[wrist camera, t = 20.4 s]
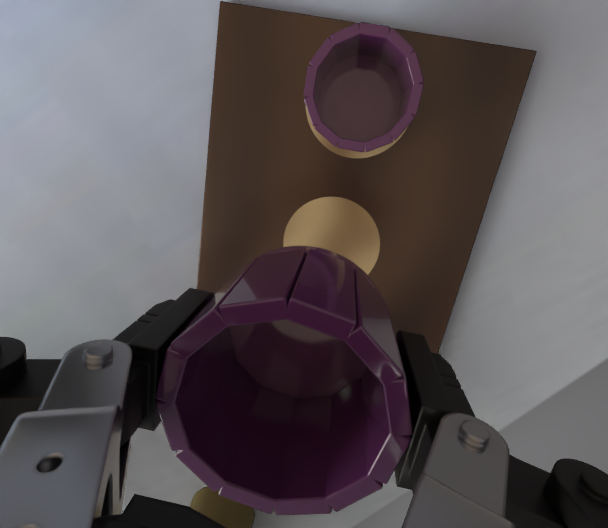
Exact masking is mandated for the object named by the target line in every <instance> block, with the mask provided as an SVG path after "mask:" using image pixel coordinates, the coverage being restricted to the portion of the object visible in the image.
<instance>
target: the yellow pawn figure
mask: <svg viewBox="0 0 608 528" xmlns="http://www.w3.org/2000/svg"><path fill="white" fill-rule="evenodd" d="M219 490H220V489H219ZM219 490H217V491H215V492H214V491H212V490H211V489H210V488H209V487H206V488H203V489H201V490H200V491H198V492H197V493H196V494H195V496H194V497H193V499H192V502H191V505H190V507H191V508H192V509H194V510H196V511H198V512H200V513H201V514H203V515H205V516H207V517H208V518H210V519H212V520H214V521H216V522H217V523H219V524H221V525H223V526H225V527H226V528H251V527H252V525H253V522H254V516H255V513H254V509H253V508H252V507H249V506H247V505H244V504H241V503H239V502H236V501H233V500H231V499H228V498H225V497H223V496H220V495H219Z"/></svg>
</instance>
